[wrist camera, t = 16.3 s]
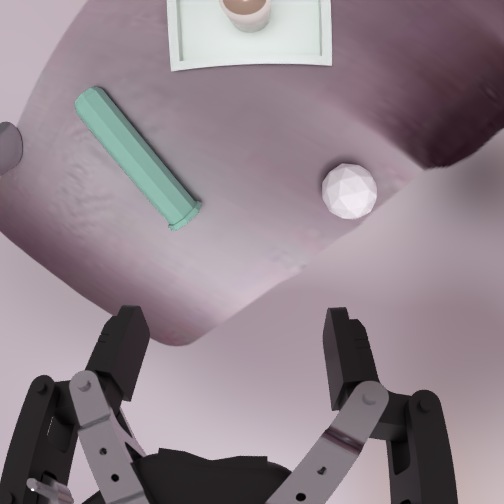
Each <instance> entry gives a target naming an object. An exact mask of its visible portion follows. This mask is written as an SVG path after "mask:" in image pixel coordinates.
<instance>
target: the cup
mask: <svg viewBox="0 0 504 504" xmlns="http://www.w3.org/2000/svg"><path fill="white" fill-rule="evenodd" d="M218 1H219V5H220V7H221V8H222V10H223V11H224V12H225V14H226V15H227V17H228V18H229V19H230V21H231V22H232V24H233V25H234V26H235V27H236V28H237V29H239V30H241V31H243V32H257V31H259V30H261V29H263V28H264V27H265V26H266V25H267V24H268V22H269V20H270V12H271V0H218Z"/></svg>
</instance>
